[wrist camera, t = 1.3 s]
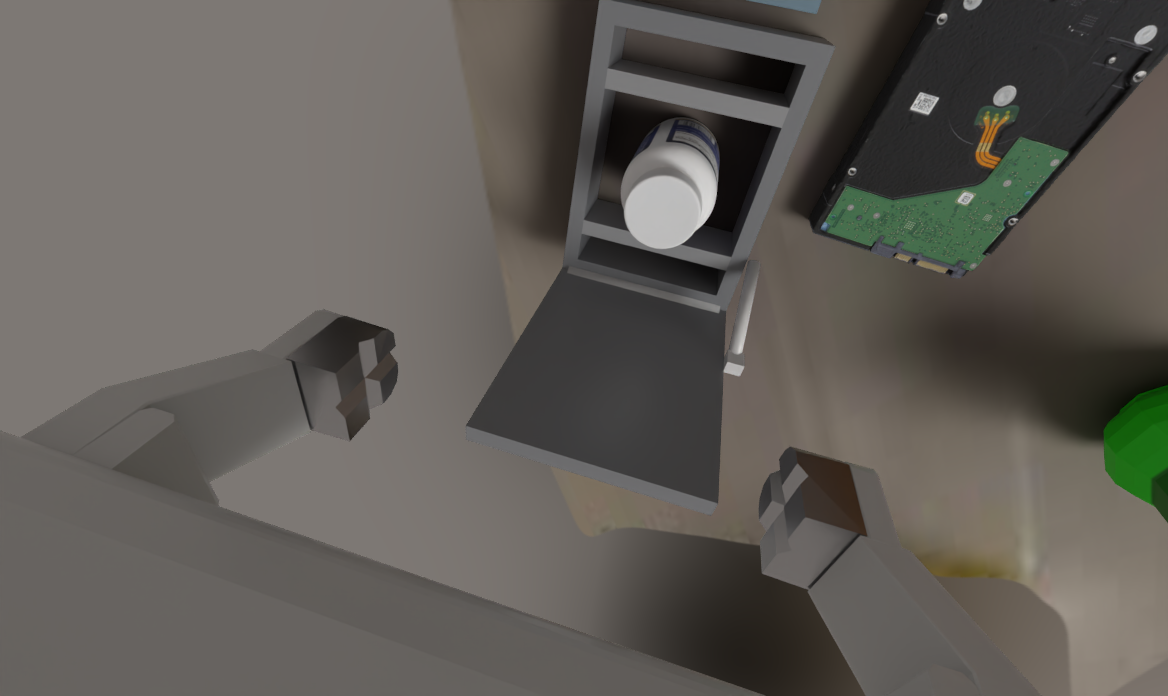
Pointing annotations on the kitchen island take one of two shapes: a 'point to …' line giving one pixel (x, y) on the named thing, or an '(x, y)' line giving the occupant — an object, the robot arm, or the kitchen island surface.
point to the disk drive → (984, 122)
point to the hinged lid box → (647, 284)
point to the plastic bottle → (1141, 448)
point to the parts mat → (794, 4)
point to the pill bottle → (671, 183)
